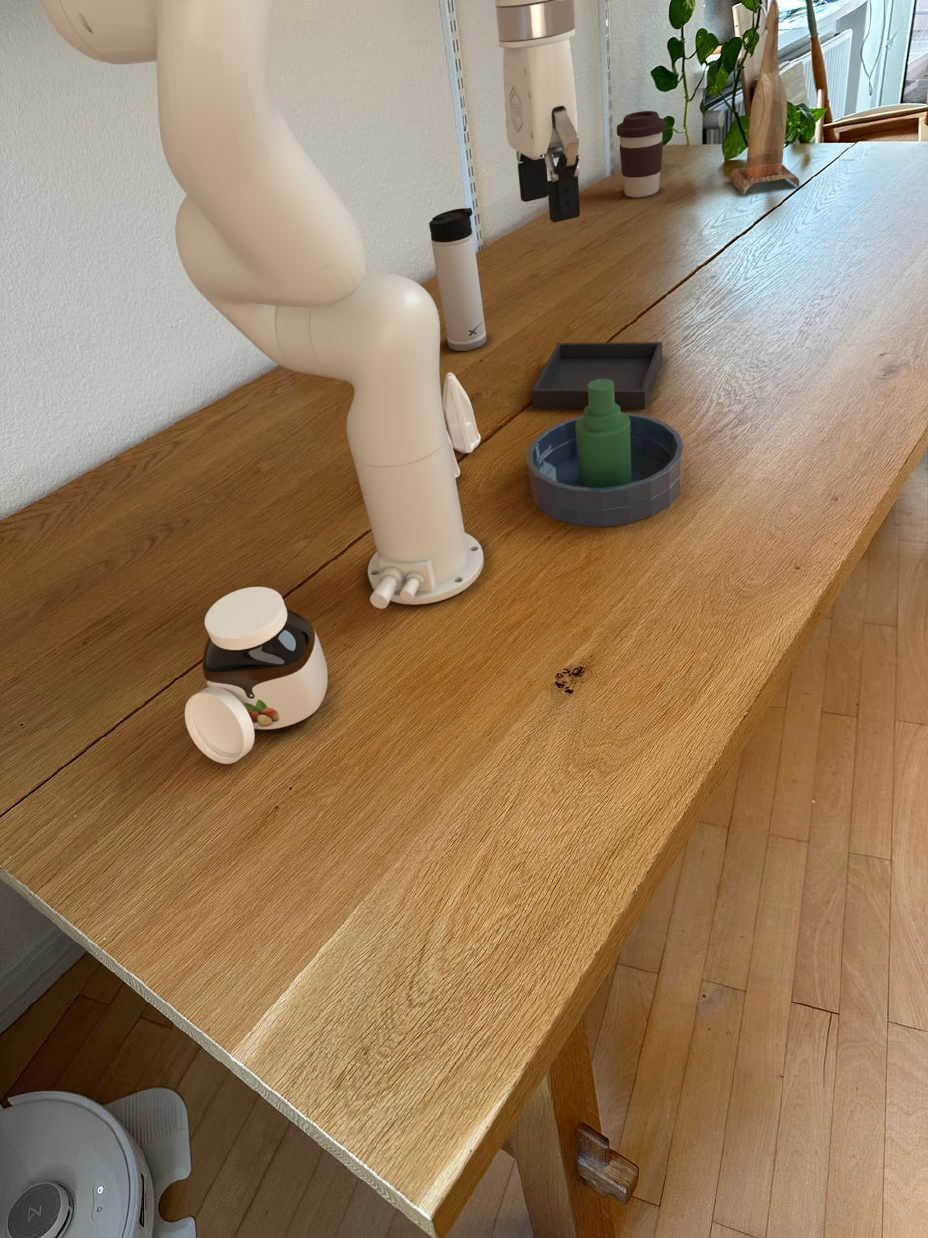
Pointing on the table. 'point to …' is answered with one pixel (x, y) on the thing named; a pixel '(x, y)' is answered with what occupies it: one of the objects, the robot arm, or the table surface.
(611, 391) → the bottle
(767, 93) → the bird sculpture
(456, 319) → the travel mug
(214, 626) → the spread jar
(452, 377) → the white fin shape
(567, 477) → the bowl
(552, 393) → the tray
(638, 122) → the coffee cup
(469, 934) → the table surface
